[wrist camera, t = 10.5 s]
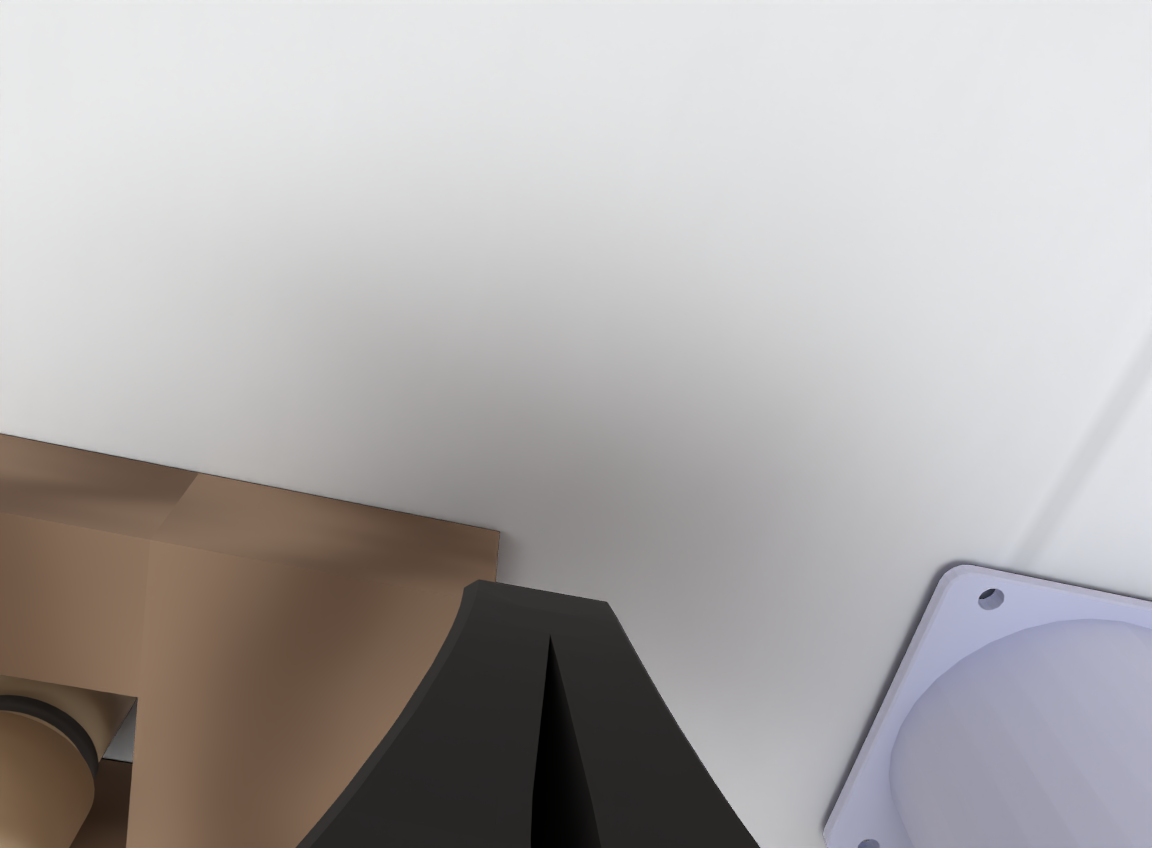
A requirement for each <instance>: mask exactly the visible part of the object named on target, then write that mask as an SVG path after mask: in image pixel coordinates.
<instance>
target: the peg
mask: <svg viewBox="0 0 1152 848" xmlns="http://www.w3.org/2000/svg"><path fill="white" fill-rule="evenodd" d="M136 698H137V697H133V696H127V695H121V694H115V693H109V692H103V691H97V690H91V689H85V688H79V687H73V686H67V685H61V684H55V683H49V682H43V681H36V680H30V679H24V678H18V677H12V676H6V675H0V848H69V847H70V845H71V844H72V842H73V840H74V838H75V837H76V835H77V833H78V831H79V829H80V828H81V826H82V824H83V822H84V821H85V819H86V817H87V815H88V813H89V811H90V809H91V807H92V804H93V800H94V790H95V788H94V780H95V778H96V776H97V771H98V763H99V762H100V760H101V758H102V757H103V755H104V753H105V751H106V750H107V748H108V746H109V745H110V743H111V741H112V739H113V738H114V736H115V734H116V733H117V731H118V729H119V727H120V726H121V724H122V722H123V721H124V719H125V717H126V716H127V714H128V712H129V710H130V709H131V707H132V705H133V704H134V702H135V700H136Z"/></svg>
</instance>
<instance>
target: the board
mask: <svg viewBox="0 0 1152 848" xmlns="http://www.w3.org/2000/svg"><path fill="white" fill-rule="evenodd" d="M499 535H500V532H498V531H493V530H488V529H483V528H478V527H473V526H468V525H463V524H458V523H452V522H447V521H442V520H437V519H432V518H427V517H422V516H417V515H412V514H406V513H401V512H396V511H391V510H386V509H381V508H376V507H371V506H366V505H360V504H355V503H350V502H345V501H340V500H335V499H330V498H325V497H320V496H314V495H309V494H304V493H299V492H294V491H289V490H284V489H279V488H274V487H268V486H263V485H258V484H253V483H248V482H243V481H238V480H233V479H228V478H222V477H217V476H212V475H207V474H202V473H197V472H192V471H187V470H182V469H176V468H171V467H166V466H161V465H156V464H151V463H146V462H141V461H136V460H130V459H125V458H120V457H115V456H110V455H105V454H100V453H95V452H90V451H84V450H79V449H74V448H69V447H64V446H59V445H54V444H49V443H44V442H38V441H33V440H28V439H23V438H18V437H13V436H8V435H3V434H0V675H6V676H12V677H18V678H24V679H30V680H36V681H43V682H49V683H55V684H61V685H67V686H73V687H79V688H85V689H91V690H97V691H103V692H109V693H115V694H121V695H127V696H133V697H138V702H137V715H136V728H135V740H134V753H133V764H130V763H124V762H117V761H111V760H105V759H101V760H100V762H99V763H98V771H97V776H96V778H95V780H94V788H95V790H94V800H93V804H92V807H91V809H90V811H89V813H88V815H87V817H86V819H85V821H84V822H83V824H82V826H81V828H80V829H79V831H78V833H77V835H76V837H75V838H74V840H73V842H72V844H71V845H70V847H69V848H296V846H297V845H298V844H299V843H300V842H301V841H302V840H303V838H304V837H305V836H306V835H307V834H308V833H309V831H310V830H311V829H312V828H313V827H314V826H315V825H316V823H317V822H318V821H319V820H320V819H321V817H322V816H323V815H324V814H325V813H326V811H327V810H328V809H329V808H330V807H331V805H332V804H333V803H334V802H335V801H336V799H337V798H338V797H339V796H340V794H341V793H342V792H343V791H344V789H345V788H346V787H347V785H348V784H349V783H350V781H351V780H352V779H353V777H354V776H355V775H356V773H357V772H358V771H359V769H360V768H361V767H362V766H363V764H364V763H365V762H366V760H367V759H368V758H369V756H370V755H371V754H372V752H373V751H374V750H375V748H376V747H377V746H378V744H379V743H380V742H381V740H382V739H383V738H384V736H385V735H386V734H387V732H388V731H389V730H390V728H391V727H392V725H393V724H394V723H395V721H396V720H397V718H398V717H399V715H400V714H401V712H402V711H403V709H404V708H405V706H406V704H407V703H408V701H409V700H410V698H411V697H412V695H413V693H414V692H415V690H416V689H417V687H418V686H419V684H420V682H421V681H422V679H423V678H424V676H425V675H426V673H427V671H428V670H429V668H430V667H431V665H432V663H433V662H434V660H435V658H436V656H437V654H438V652H439V650H440V649H441V647H442V645H443V643H444V641H445V639H446V637H447V635H448V633H449V631H450V629H451V627H452V625H453V623H454V620H455V618H456V615H457V613H458V610H459V607H460V604H461V600H462V595H463V590H464V587H466V586H468V585H469V584H471V583H473V582H475V581H476V580H478V579H480V580H486V581H491V582H496V571H497V559H498V547H499Z"/></svg>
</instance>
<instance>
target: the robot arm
mask: <svg viewBox="0 0 1152 848" xmlns="http://www.w3.org/2000/svg"><path fill="white" fill-rule="evenodd" d="M988 589H995V591H994V593H993V594H992V595H991V596H989V597H987V598H985V599H979V597H980V595H981V594H982V593H983V592H984V591H986V590H988ZM823 837H824V840H825V843H826V846H827V848H1152V602H1150V601H1145V600H1140V599H1136V598H1131V597H1126V596H1121V595H1116V594H1111V593H1106V592H1101V591H1096V590H1091V589H1087V588H1082V587H1077V586H1072V585H1067V584H1062V583H1057V582H1052V581H1047V580H1042V579H1038V578H1033V577H1028V576H1023V575H1018V574H1013V573H1008V572H1003V571H998V570H993V569H988V568H984V567H979V566H974V565H960V566H957V567H954V568H952V569H950V570H949V571H947V572H946V573H945V574H944V575H943V576H942V578H941V579H940V581H939V583H938V585H937V587H936V589H935V591H934V593H933V596H932V598H931V600H930V602H929V604H928V606H927V608H926V611H925V613H924V615H923V617H922V619H921V621H920V624H919V626H918V628H917V630H916V632H915V634H914V636H913V639H912V641H911V643H910V645H909V647H908V649H907V652H906V654H905V656H904V658H903V660H902V662H901V664H900V667H899V669H898V671H897V673H896V675H895V677H894V680H893V682H892V684H891V686H890V688H889V690H888V692H887V695H886V697H885V699H884V701H883V703H882V705H881V708H880V710H879V712H878V714H877V716H876V718H875V720H874V723H873V725H872V727H871V729H870V731H869V733H868V736H867V738H866V740H865V742H864V744H863V746H862V748H861V751H860V753H859V755H858V757H857V759H856V761H855V764H854V766H853V768H852V770H851V772H850V774H849V776H848V779H847V781H846V783H845V785H844V787H843V789H842V791H841V794H840V796H839V798H838V800H837V802H836V804H835V807H834V809H833V811H832V813H831V815H830V817H829V819H828V822H827V824H826V826H825V828H824V832H823ZM867 839H871V840H868V841H866V842H862V841H864V840H867ZM296 848H760V847H759V845H758V844H757V843H756V841H755V840H754V838H753V837H752V836H751V834H750V833H749V831H748V830H747V829H746V827H745V826H744V825H743V823H742V822H741V820H740V819H739V818H738V816H737V815H736V813H735V812H734V810H733V809H732V807H731V806H730V804H729V803H728V801H727V800H726V798H725V797H724V796H723V794H722V793H721V791H720V790H719V788H718V787H717V785H716V784H715V782H714V781H713V779H712V778H711V776H710V774H709V773H708V771H707V770H706V768H705V766H704V765H703V763H702V762H701V760H700V759H699V757H698V755H697V754H696V752H695V751H694V749H693V748H692V746H691V744H690V743H689V741H688V740H687V738H686V737H685V735H684V733H683V732H682V730H681V729H680V727H679V725H678V724H677V722H676V721H675V719H674V717H673V716H672V714H671V712H670V711H669V709H668V707H667V706H666V704H665V702H664V700H663V699H662V697H661V695H660V694H659V692H658V690H657V688H656V687H655V685H654V683H653V681H652V680H651V678H650V676H649V674H648V673H647V671H646V669H645V667H644V666H643V664H642V662H641V660H640V658H639V657H638V655H637V653H636V651H635V649H634V648H633V646H632V644H631V642H630V640H629V639H628V637H627V635H626V633H625V631H624V629H623V628H622V626H621V624H620V622H619V620H618V619H617V617H616V615H615V613H614V612H613V610H612V609H611V607H610V606H609V604H608V603H607V602H604V601H599V600H593V599H587V598H582V597H576V596H570V595H565V594H559V593H553V592H548V591H542V590H536V589H531V588H525V587H520V586H514V585H508V584H503V583H497V582H491V581H486V580H480V579H478V580H476V581H475V582H473V583H471V584H469V585H468V586H466V587H464V590H463V595H462V600H461V604H460V607H459V610H458V613H457V615H456V618H455V620H454V623H453V625H452V627H451V629H450V631H449V633H448V635H447V637H446V639H445V641H444V643H443V645H442V647H441V649H440V650H439V652H438V654H437V656H436V658H435V660H434V662H433V663H432V665H431V667H430V668H429V670H428V671H427V673H426V675H425V676H424V678H423V679H422V681H421V682H420V684H419V686H418V687H417V689H416V690H415V692H414V693H413V695H412V697H411V698H410V700H409V701H408V703H407V704H406V706H405V708H404V709H403V711H402V712H401V714H400V715H399V717H398V718H397V720H396V721H395V723H394V724H393V725H392V727H391V728H390V730H389V731H388V732H387V734H386V735H385V736H384V738H383V739H382V740H381V742H380V743H379V744H378V746H377V747H376V748H375V750H374V751H373V752H372V754H371V755H370V756H369V758H368V759H367V760H366V762H365V763H364V764H363V766H362V767H361V768H360V769H359V771H358V772H357V773H356V775H355V776H354V777H353V779H352V780H351V781H350V783H349V784H348V785H347V787H346V788H345V789H344V791H343V792H342V793H341V794H340V796H339V797H338V798H337V799H336V801H335V802H334V803H333V804H332V805H331V807H330V808H329V809H328V810H327V811H326V813H325V814H324V815H323V816H322V817H321V819H320V820H319V821H318V822H317V823H316V825H315V826H314V827H313V828H312V829H311V830H310V831H309V833H308V834H307V835H306V836H305V837H304V838H303V840H302V841H301V842H300V843H299V844H298V845H297V846H296Z"/></svg>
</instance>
